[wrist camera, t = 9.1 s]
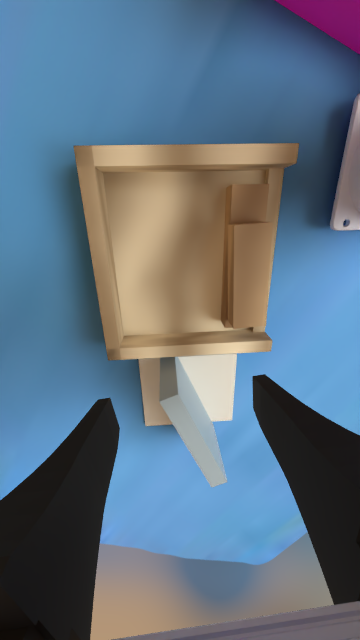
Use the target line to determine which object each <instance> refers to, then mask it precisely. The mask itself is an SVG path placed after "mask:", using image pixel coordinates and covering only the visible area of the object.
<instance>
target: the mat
mask: <svg viewBox="0 0 360 640" xmlns="http://www.w3.org/2000/svg"><path fill="white" fill-rule="evenodd" d="M178 358H179V360H180V362H181V364H182V366H183V367H184V369H185V371H186V373H187V375H188V377H189V379H190V381H191V383H192V385H193V387H194V389H195V391H196V392H197V394H198V396H199V398H200V400H201V402H202V404H203V406H204V408H205V410H206V412H207V414H208V416H209V417H210V419H211V421H226V420H232V413H233V399H234V386H235V372H236V359H237V353H232V354H214V355H196V356H179V357H178ZM139 369H140V378H141V387H142V397H143V406H144V416H145V425H146V426H155V425H169V424H173V423H172V422H171V420H170V419H169V417H168V415H167V414H166V412H165V410H164V409H163V407H162V405H161V404H160V402H159V391H160V358H143V359H139Z"/></svg>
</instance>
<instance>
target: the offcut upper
mask: <svg viewBox="0 0 360 640" xmlns="http://www.w3.org/2000/svg"><path fill="white" fill-rule="evenodd" d="M272 226H273V222H254V223H242V224H230V225H228V322H229V323H230V325H231V326H232V328H233V329H238V328H248V327H258V326H266V318H267V302H268V287H269V272H270V257H271V241H272Z"/></svg>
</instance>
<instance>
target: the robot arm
mask: <svg viewBox="0 0 360 640" xmlns="http://www.w3.org/2000/svg"><path fill="white" fill-rule="evenodd" d="M344 220H346V224H345V226H343V222H344ZM330 227H331V229H332V230H337V231H339V230H360V93H359V94H358V95H357V97H356V98H355V101H354V104H353V110H352V115H351V120H350V125H349V130H348V135H347V140H346V145H345V150H344V155H343V160H342V165H341V170H340V175H339V180H338V185H337V190H336V196H335V201H334V206H333V211H332V216H331V221H330ZM253 408H254V411H255V414H256V417H257V419H258V422H259V425H260V427H261V429H262V431H263V433H264V435H265V437H266V439H267V441H268V443H269V445H270V447H271V449H272V451H273V453H274V455H275V457H276V459H277V461H278V462H279V464H280V466H281V468H282V470H283V472H284V474H285V477H286V479H287V481H288V483H289V486H290V488H291V491H292V493H293V495H294V498H295V500H296V503H297V505H298V508H299V510H300V513H301V516H302V518H303V521H304V523H305V526H306V528H307V531H308V534H309V536H310V539H311V541H312V544H313V547H314V549H315V552H316V555H317V558H318V560H319V563H320V566H321V568H322V572H323V574H324V577H325V580H326V583H327V586H328V588H329V591H330V594H331V597H332V599H333V603H334V605H331V606H325V607H318V608H312V609H306V610H299V611H292V612H286V613H280V614H273V615H267V616H260V617H254V618H248V619H242V620H235V621H228V622H222V623H216V624H209V625H203V626H196V627H190V628H183V629H177V630H171V631H164V632H158V633H151V634H145V635H138V636H133V637H126V638H120V639H113V640H360V435H357V434H355V433H353V432H351V431H349V430H347V429H345V428H343V427H342V426H340V425H338V424H336V423H334V422H333V421H331V420H329V419H327V418H325V417H324V416H322V415H320V414H319V413H317V412H316V411H314V410H313V409H311V408H309V407H308V406H306V405H305V404H303V403H302V402H301V401H299V400H298V399H296V398H295V397H294V396H292V395H291V394H289V393H288V392H287V391H285V390H284V389H283V388H282V387H280V386H279V385H278V384H276V383H275V382H274V381H273V380H271V379H270V378H269V377H267V376H266V375H265V374H264V375H258V376H253ZM119 430H120V428H119V424H118V421H117V418H116V415H115V412H114V409H113V405H112V402H111V399H110V398H106V399H99V400H97V402H96V403H95V404H94V405H93V406H92V408H91V409H90V410H89V411H88V413H87V414H86V415H85V416H84V418H83V419H82V420H81V421H80V423H79V424H78V425H77V426H76V427H75V429H74V430H73V431H72V432H71V433H70V435H69V436H68V437H67V438H66V439H65V440H64V441H63V442H62V443H61V445H60V446H59V447H58V448H57V449H56V450H55V451H54V452H53V453H52V454H51V455H50V456H49V457H48V458H47V459H46V460H45V461H44V462H43V463H42V464H41V465H40V466H39V467H38V468H37V469H36V470H35V471H34V472H33V473H32V474H31V475H30V476H29V477H27V478H26V479H25V480H24V481H23V482H22V483H20V484H19V485H18V486H17V487H16V488H15V489H14V490H12V491H11V492H10V493H9V494H8V495H6V496H5V497H4V498H3V499H2V500H0V640H90V634H91V622H92V610H93V598H94V588H95V577H96V568H97V560H98V551H99V543H100V535H101V528H102V521H103V513H104V507H105V502H106V497H107V493H108V488H109V484H110V480H111V475H112V471H113V467H114V462H115V458H116V454H117V449H118V440H119Z"/></svg>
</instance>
